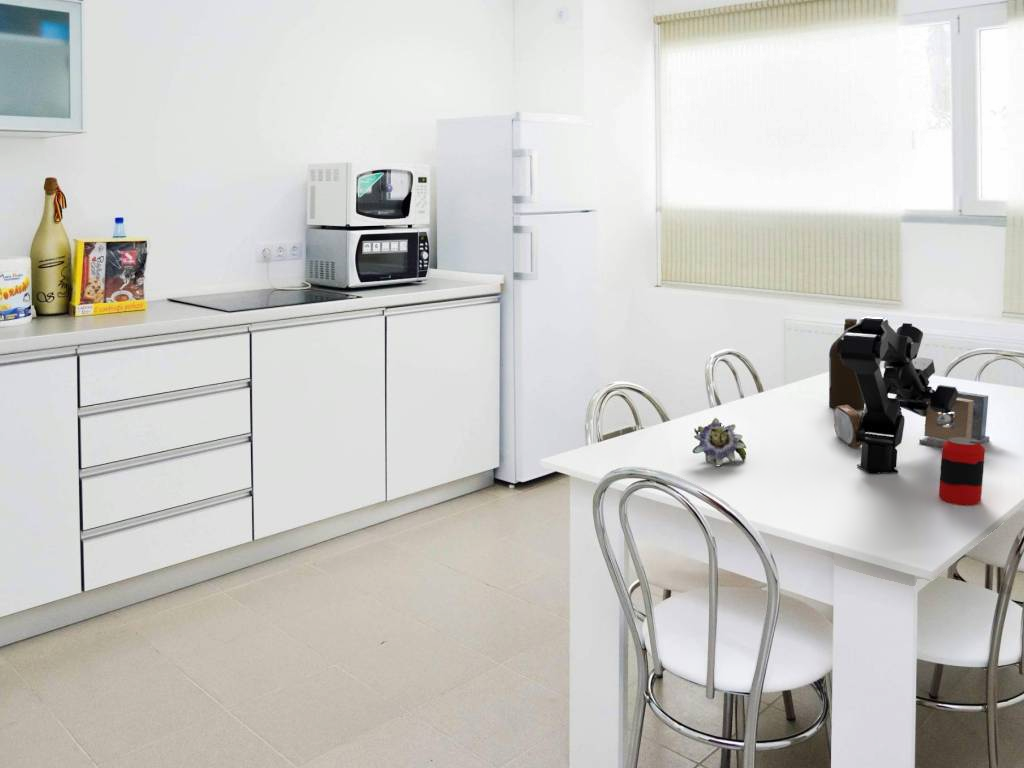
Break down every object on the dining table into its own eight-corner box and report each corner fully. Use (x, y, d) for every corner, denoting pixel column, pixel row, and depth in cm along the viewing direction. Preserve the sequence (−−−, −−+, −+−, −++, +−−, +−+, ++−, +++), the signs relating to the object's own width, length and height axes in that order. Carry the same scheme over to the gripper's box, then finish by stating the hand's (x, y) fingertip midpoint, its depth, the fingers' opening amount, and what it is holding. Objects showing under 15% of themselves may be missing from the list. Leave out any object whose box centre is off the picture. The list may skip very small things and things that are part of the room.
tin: (864, 449, 225) (866, 415, 223) (850, 450, 225) (852, 415, 223) (843, 434, 239) (845, 401, 238) (830, 434, 239) (832, 401, 238)
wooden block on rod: (965, 443, 222) (968, 401, 220) (924, 435, 230) (927, 395, 228) (970, 441, 224) (973, 400, 222) (929, 434, 232) (932, 393, 230)
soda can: (974, 508, 182) (978, 448, 180) (933, 500, 187) (937, 441, 185) (985, 498, 188) (990, 439, 185) (945, 491, 193) (949, 434, 190)
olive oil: (871, 406, 269) (876, 318, 264) (858, 413, 261) (863, 322, 256) (834, 401, 276) (838, 315, 271) (820, 408, 268) (825, 320, 263)
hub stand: (960, 451, 221) (963, 405, 219) (919, 443, 229) (922, 398, 227) (989, 440, 230) (992, 396, 228) (948, 433, 238) (951, 390, 236)
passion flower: (718, 489, 214) (691, 451, 210) (704, 467, 224) (678, 430, 220) (760, 461, 213) (735, 423, 209) (744, 440, 223) (719, 403, 219)
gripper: (958, 352, 211) (977, 394, 220) (880, 343, 226) (901, 382, 235) (938, 392, 208) (958, 432, 217) (860, 380, 222) (882, 418, 231)
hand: (924, 415), depth 225 cm, fingers closed
